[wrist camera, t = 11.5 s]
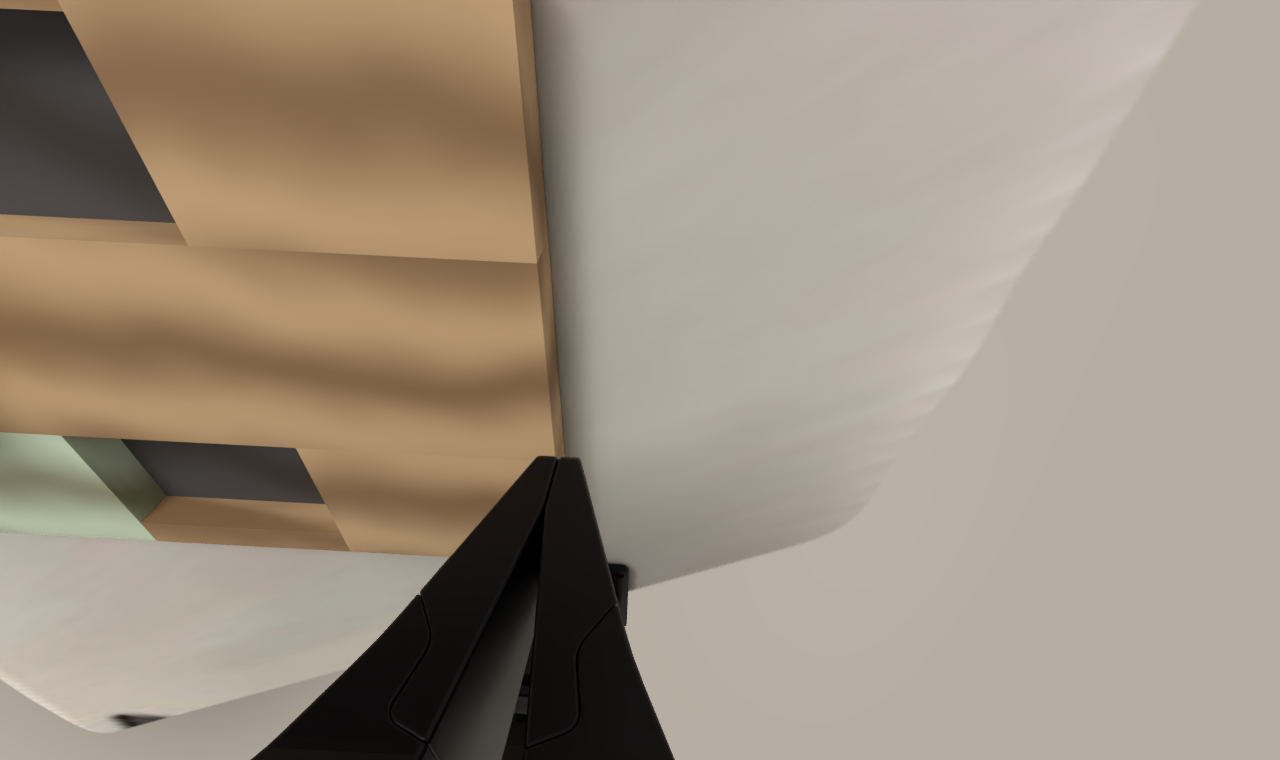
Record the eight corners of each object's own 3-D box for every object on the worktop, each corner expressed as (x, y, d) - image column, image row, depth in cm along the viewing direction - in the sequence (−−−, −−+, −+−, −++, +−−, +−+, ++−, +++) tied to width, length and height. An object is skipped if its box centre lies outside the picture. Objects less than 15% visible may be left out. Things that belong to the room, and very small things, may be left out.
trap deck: (570, 529, 28) (564, 563, 26) (-16, 498, 28) (-56, 529, 26) (526, -45, 13) (507, -49, 11) (-712, -103, 13) (-897, -113, 12)
